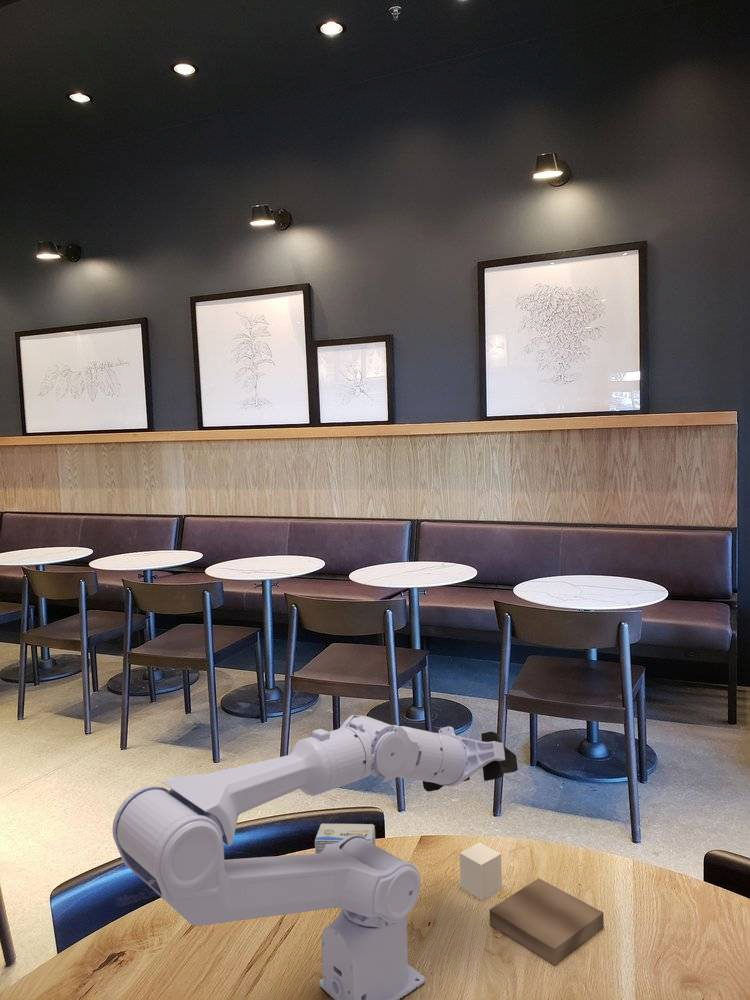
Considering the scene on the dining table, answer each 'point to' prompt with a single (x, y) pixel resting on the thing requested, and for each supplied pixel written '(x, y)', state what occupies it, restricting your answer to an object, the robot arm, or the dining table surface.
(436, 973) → the dining table surface
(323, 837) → the medicine box
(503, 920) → the walnut plinth
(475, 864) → the off-white block
